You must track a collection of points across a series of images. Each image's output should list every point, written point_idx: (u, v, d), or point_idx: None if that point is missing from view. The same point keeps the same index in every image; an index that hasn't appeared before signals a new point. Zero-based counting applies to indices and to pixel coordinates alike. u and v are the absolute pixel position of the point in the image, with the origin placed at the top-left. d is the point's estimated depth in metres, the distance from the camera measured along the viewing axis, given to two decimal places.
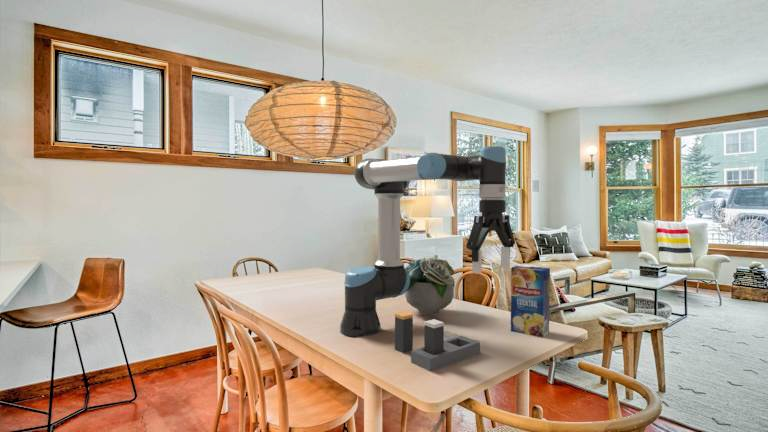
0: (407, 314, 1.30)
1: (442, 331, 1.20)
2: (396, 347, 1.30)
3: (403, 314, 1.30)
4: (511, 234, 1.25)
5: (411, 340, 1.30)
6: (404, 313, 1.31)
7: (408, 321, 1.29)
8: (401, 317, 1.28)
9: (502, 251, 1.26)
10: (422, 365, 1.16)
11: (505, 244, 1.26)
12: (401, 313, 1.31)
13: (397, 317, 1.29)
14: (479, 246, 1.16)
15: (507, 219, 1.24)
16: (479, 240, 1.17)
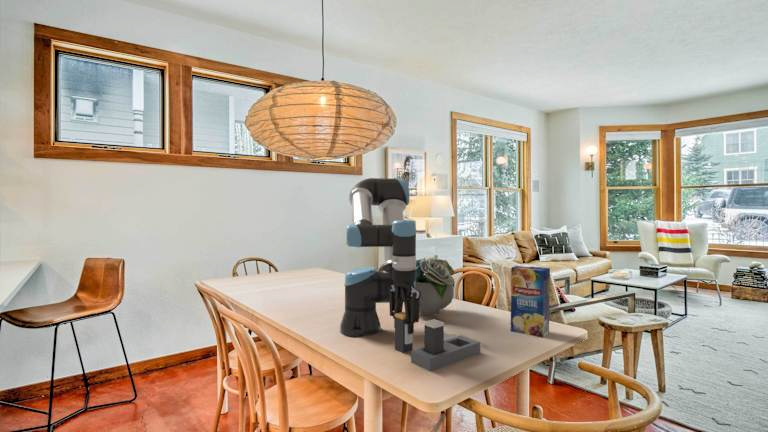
0: None
1: (442, 331, 1.20)
2: (396, 347, 1.30)
3: (403, 314, 1.30)
4: (411, 312, 1.25)
5: None
6: (404, 313, 1.31)
7: None
8: (401, 317, 1.28)
9: None
10: (422, 365, 1.16)
11: None
12: (401, 313, 1.31)
13: (397, 317, 1.29)
14: (394, 315, 1.32)
15: (412, 295, 1.25)
16: None
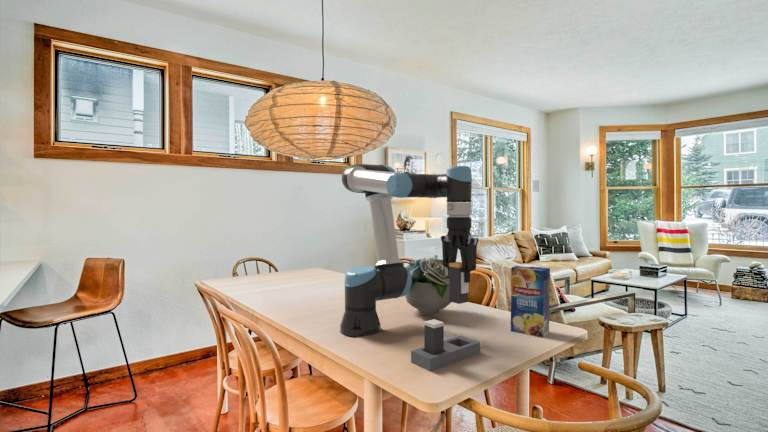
0: None
1: (442, 331, 1.20)
2: (451, 297, 1.26)
3: (458, 263, 1.26)
4: (469, 259, 1.21)
5: None
6: (459, 262, 1.27)
7: None
8: (457, 265, 1.24)
9: None
10: (422, 365, 1.16)
11: None
12: (455, 262, 1.27)
13: (452, 266, 1.26)
14: (448, 265, 1.28)
15: (470, 242, 1.21)
16: None
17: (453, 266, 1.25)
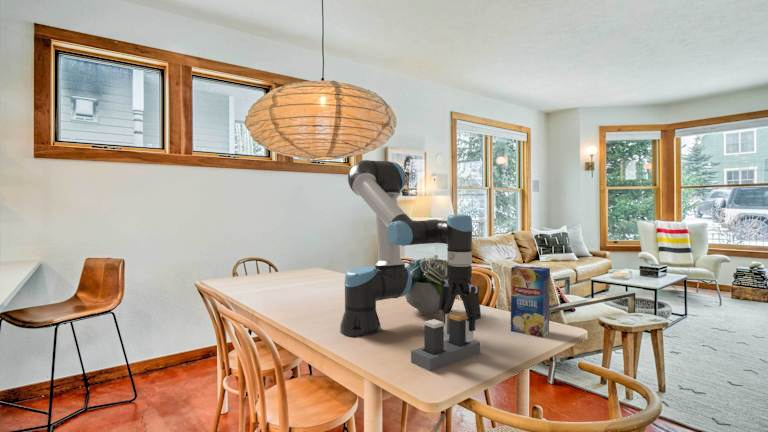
0: (462, 315, 1.27)
1: (442, 331, 1.20)
2: None
3: (458, 315, 1.27)
4: (472, 308, 1.21)
5: (466, 342, 1.27)
6: (458, 314, 1.28)
7: (463, 323, 1.26)
8: (456, 318, 1.25)
9: None
10: (422, 365, 1.16)
11: None
12: (455, 314, 1.28)
13: (452, 319, 1.26)
14: (444, 309, 1.30)
15: (471, 290, 1.21)
16: None
17: (453, 319, 1.26)
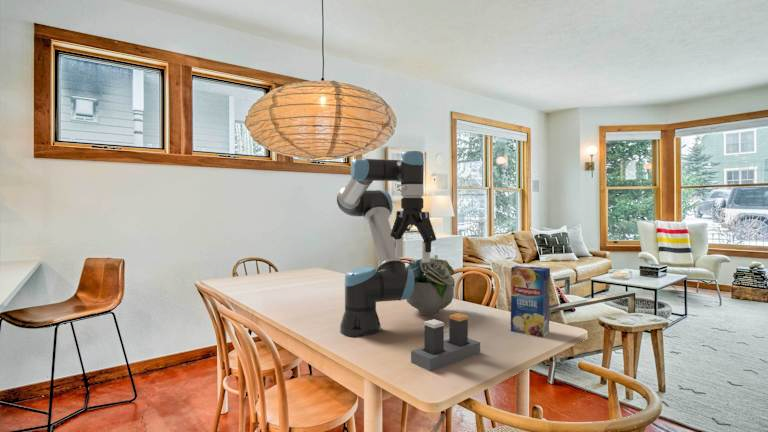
0: (462, 316, 1.26)
1: (442, 331, 1.20)
2: None
3: (458, 315, 1.27)
4: (426, 230, 1.31)
5: (466, 342, 1.27)
6: (459, 315, 1.28)
7: (464, 323, 1.26)
8: (457, 319, 1.25)
9: None
10: (422, 365, 1.16)
11: None
12: (456, 315, 1.28)
13: (452, 319, 1.26)
14: (395, 235, 1.43)
15: (422, 216, 1.32)
16: None
17: (453, 319, 1.26)
